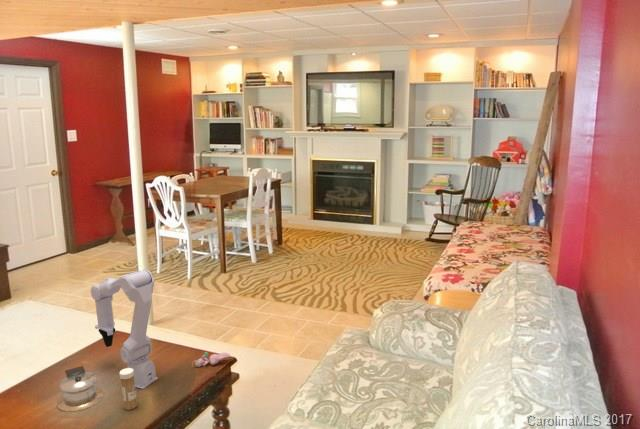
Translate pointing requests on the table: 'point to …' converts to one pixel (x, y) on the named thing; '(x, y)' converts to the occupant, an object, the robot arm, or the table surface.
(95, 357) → the table surface
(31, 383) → the table surface
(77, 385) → the cooker lid
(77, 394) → the cooker pot
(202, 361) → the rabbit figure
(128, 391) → the sprinkles bottle
